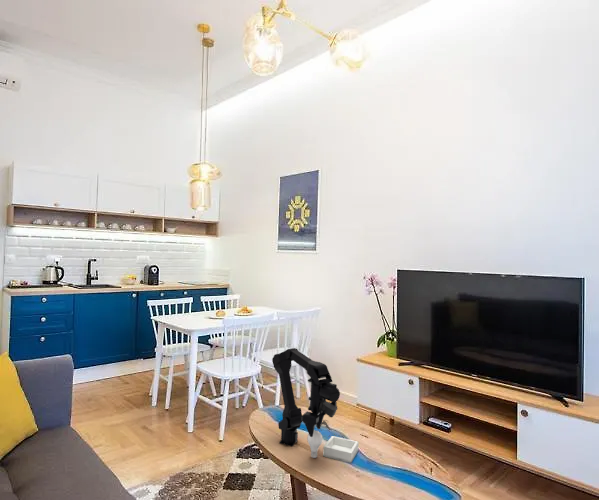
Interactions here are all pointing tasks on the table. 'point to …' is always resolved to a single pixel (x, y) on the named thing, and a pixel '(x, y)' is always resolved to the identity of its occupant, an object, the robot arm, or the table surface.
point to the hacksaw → (326, 425)
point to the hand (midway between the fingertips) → (315, 432)
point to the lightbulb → (314, 442)
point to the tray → (340, 449)
